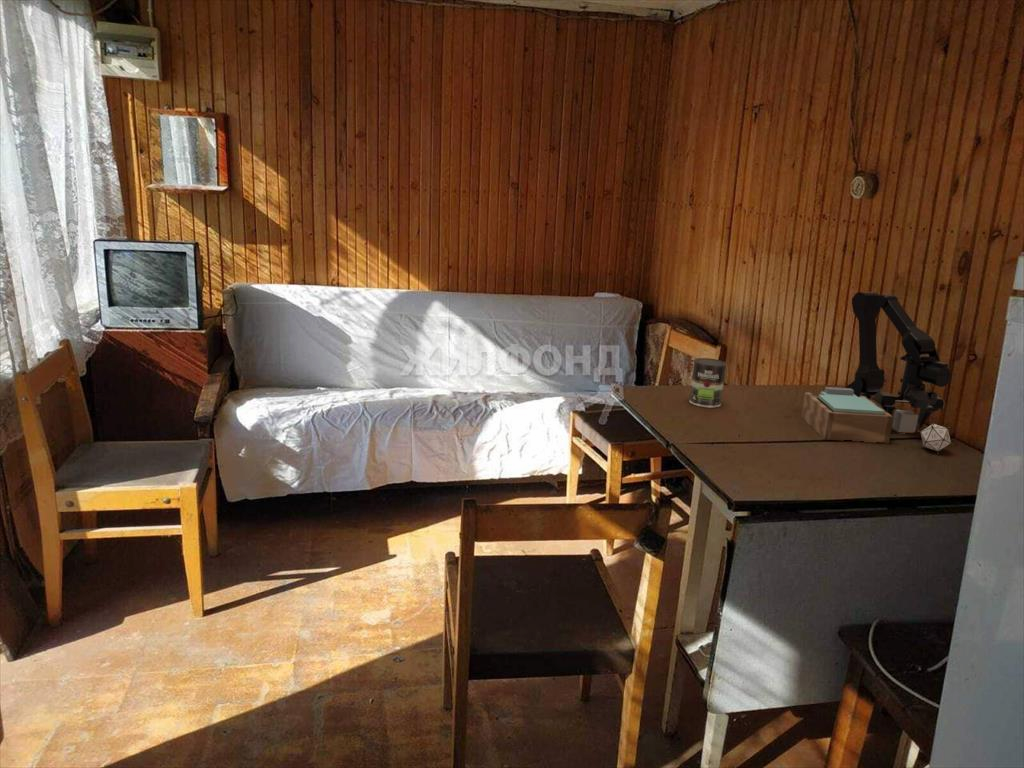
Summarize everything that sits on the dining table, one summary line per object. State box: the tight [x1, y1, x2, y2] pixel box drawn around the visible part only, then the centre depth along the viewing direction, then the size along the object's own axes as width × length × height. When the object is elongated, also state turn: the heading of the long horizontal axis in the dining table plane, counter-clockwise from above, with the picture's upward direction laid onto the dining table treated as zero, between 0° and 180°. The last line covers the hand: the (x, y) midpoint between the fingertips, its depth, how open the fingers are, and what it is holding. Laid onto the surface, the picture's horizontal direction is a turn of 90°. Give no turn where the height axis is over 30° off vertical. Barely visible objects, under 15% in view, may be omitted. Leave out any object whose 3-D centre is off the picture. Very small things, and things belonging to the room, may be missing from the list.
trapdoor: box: [818, 386, 884, 414], centre depth 235 cm, size 18×14×3 cm
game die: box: [917, 420, 955, 455], centre depth 222 cm, size 9×8×10 cm
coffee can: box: [688, 357, 728, 409], centre depth 255 cm, size 10×10×14 cm
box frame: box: [801, 392, 894, 444], centre depth 236 cm, size 22×18×8 cm
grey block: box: [892, 409, 919, 433], centre depth 238 cm, size 5×5×6 cm
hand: (903, 427), depth 239 cm, fingers open, 9 cm apart
